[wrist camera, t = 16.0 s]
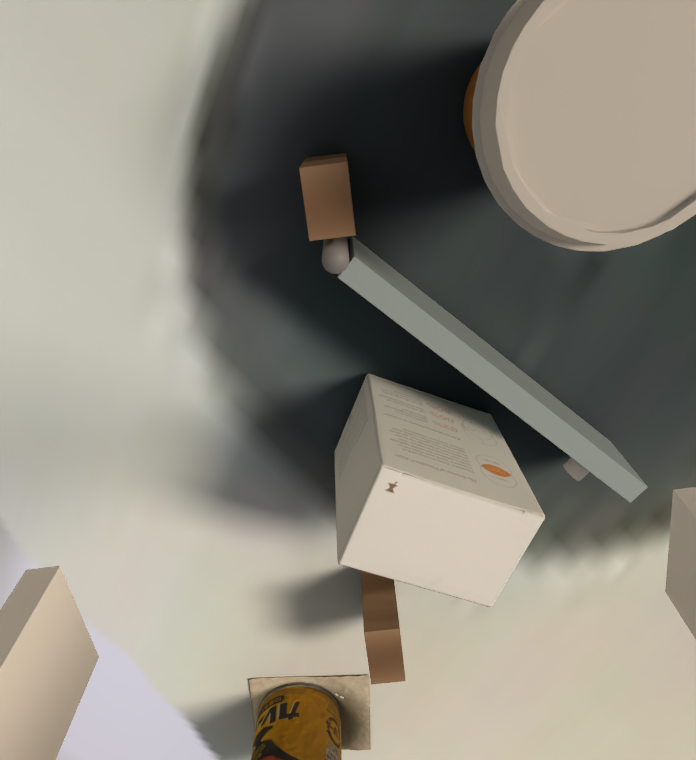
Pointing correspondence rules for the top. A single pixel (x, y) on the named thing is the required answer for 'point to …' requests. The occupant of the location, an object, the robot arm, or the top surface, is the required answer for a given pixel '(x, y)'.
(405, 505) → the small box
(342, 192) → the brown upright pieces
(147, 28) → the top surface
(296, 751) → the condiment
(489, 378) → the door
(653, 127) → the disposable coffee cup
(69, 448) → the top surface
